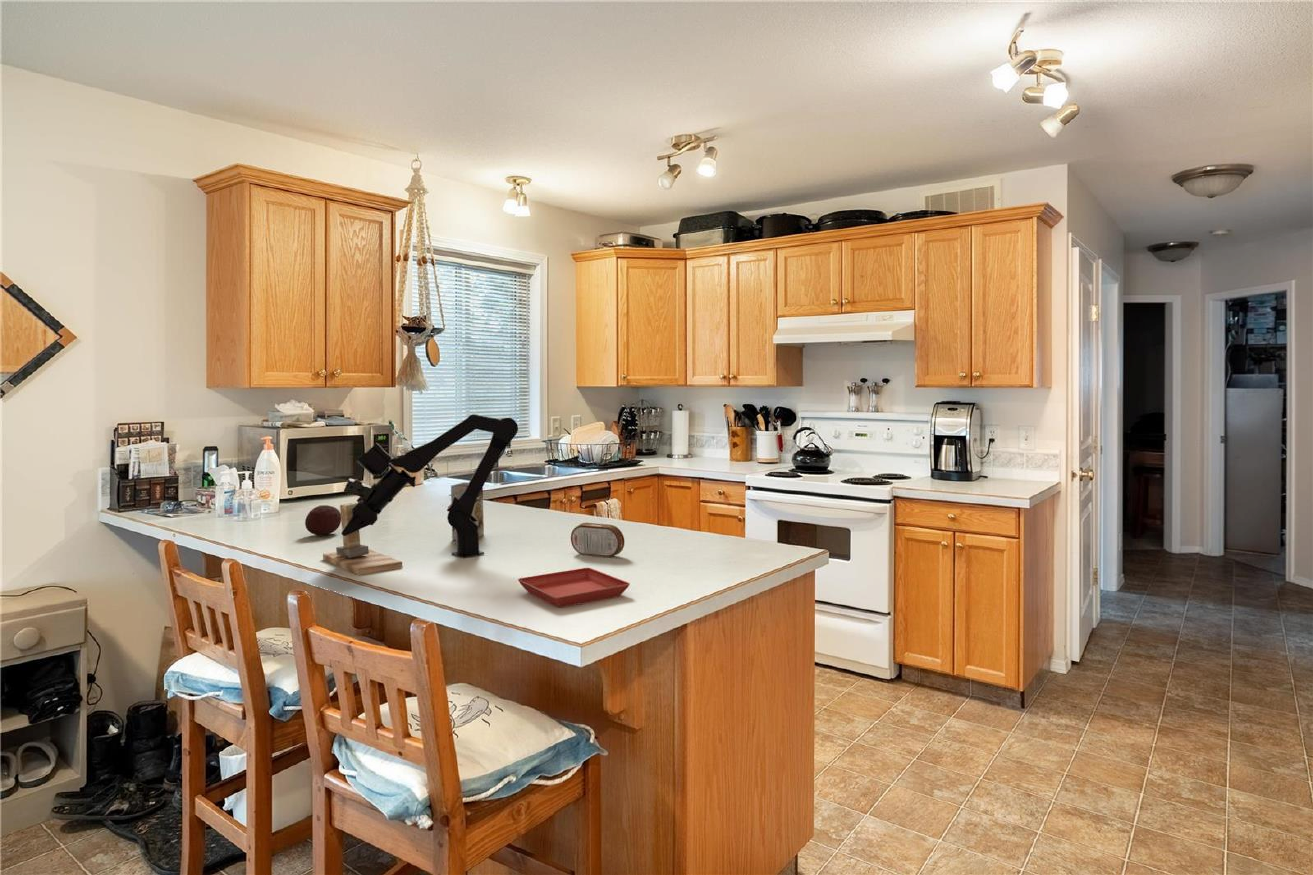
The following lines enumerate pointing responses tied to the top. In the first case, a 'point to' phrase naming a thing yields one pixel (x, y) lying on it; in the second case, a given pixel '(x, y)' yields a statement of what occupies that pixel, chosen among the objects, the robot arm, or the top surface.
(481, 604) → the top surface
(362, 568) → the board
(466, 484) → the coffee box
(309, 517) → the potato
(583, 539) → the tin
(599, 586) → the plant saucer
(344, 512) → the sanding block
